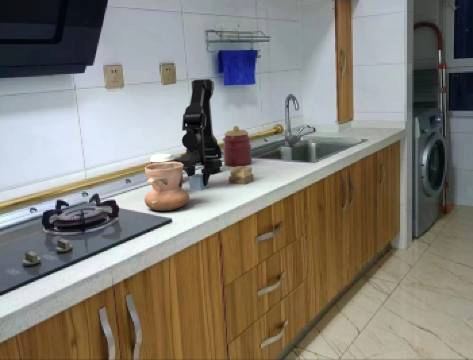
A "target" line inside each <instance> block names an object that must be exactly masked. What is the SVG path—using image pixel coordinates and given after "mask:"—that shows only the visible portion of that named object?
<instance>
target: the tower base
mask: <svg viewBox="0 0 473 360" xmlns="http://www.w3.org/2000/svg"><path fill="white" fill-rule="evenodd" d="M254 181H255V178H254V174H253V173H252V175H250V176H247V177H245V178H240V177H231V175H230V176H228V184H231V185H232V184H233V185H241V186H242V185H243V186H244V185H248V184H249V183H252V182H254Z"/></svg>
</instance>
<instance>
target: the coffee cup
mask: <svg viewBox="0 0 473 360" xmlns="http://www.w3.org/2000/svg"><path fill="white" fill-rule="evenodd" d="M172 155H173V154H171V153H159V154H153V155H150V160H149V162H150V164H155V163H162V162H173V159H174V158H173V157H172Z"/></svg>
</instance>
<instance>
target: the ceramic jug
mask: <svg viewBox="0 0 473 360" xmlns="http://www.w3.org/2000/svg"><path fill="white" fill-rule="evenodd" d="M144 172H145V176H146V177H147V179H148V180H147V181H146V184H147V185H150V186H151V187H152V189H151V191H149V192H148V193H146V195H145V197H144V203H145V205H146V207H148V208H149V209H152V210H154V211H161V212H166V211H172V210H177V209H179V208H182V207H184V206H185V205H186V204H188V202H189V200H190V195H189V193H188V192H187V190H185V189H183V182H184V173H183V172H184V170H183V164H182V163H179V162H162V163H155V164H151V163H150V164H148V165H146V166H145V167H144Z"/></svg>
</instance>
